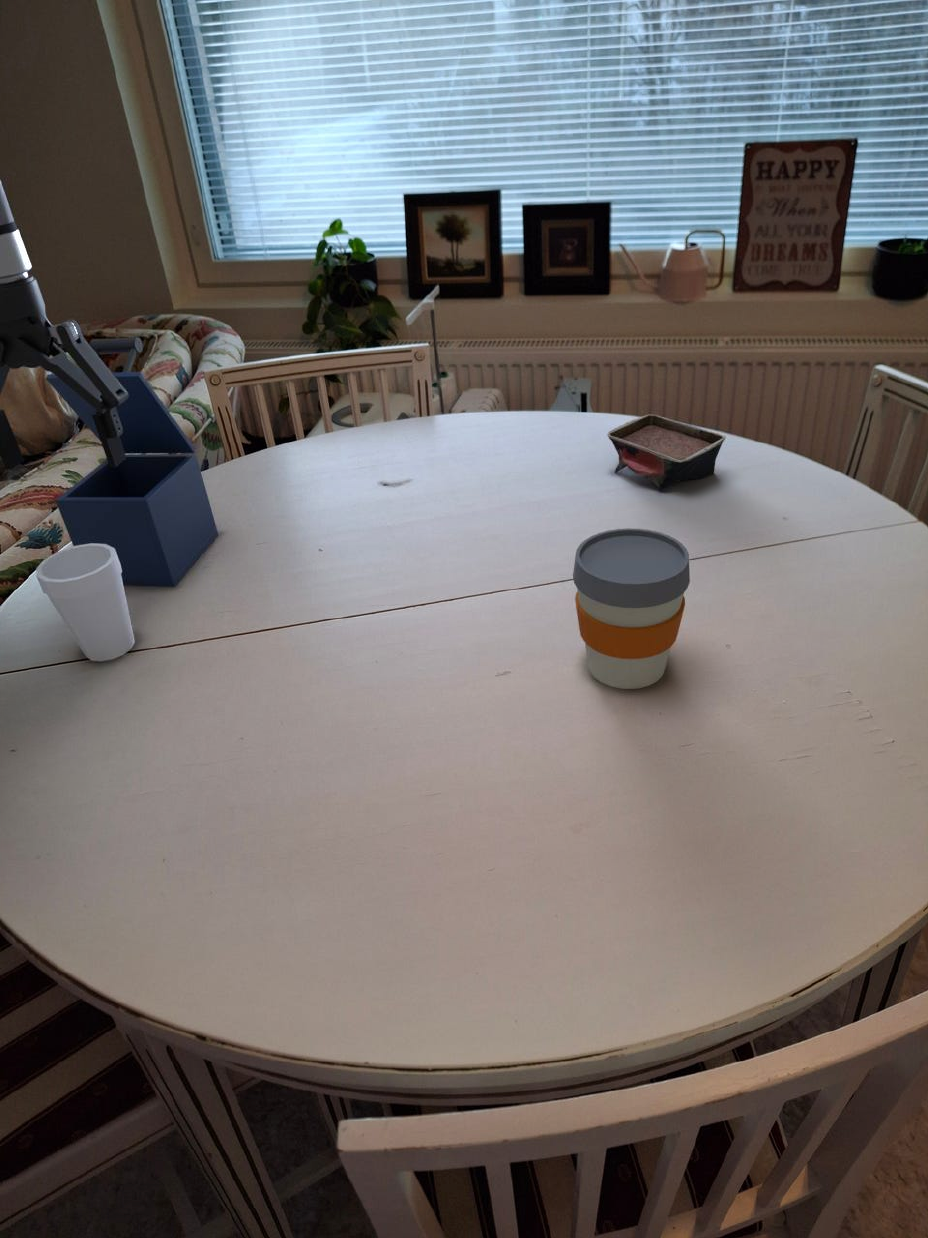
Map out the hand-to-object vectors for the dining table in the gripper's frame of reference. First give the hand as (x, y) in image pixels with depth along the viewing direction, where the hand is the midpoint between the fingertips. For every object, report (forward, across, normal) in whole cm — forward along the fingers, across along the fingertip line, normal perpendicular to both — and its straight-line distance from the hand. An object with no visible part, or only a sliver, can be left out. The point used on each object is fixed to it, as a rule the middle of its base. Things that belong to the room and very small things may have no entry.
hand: (66, 464), depth 98 cm
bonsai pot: (+24, +76, +46) cm, 92 cm away
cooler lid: (+2, -4, +21) cm, 21 cm away
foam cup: (+24, 0, -6) cm, 24 cm away
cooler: (+24, -4, +18) cm, 30 cm away
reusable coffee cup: (+24, +68, -8) cm, 72 cm away
